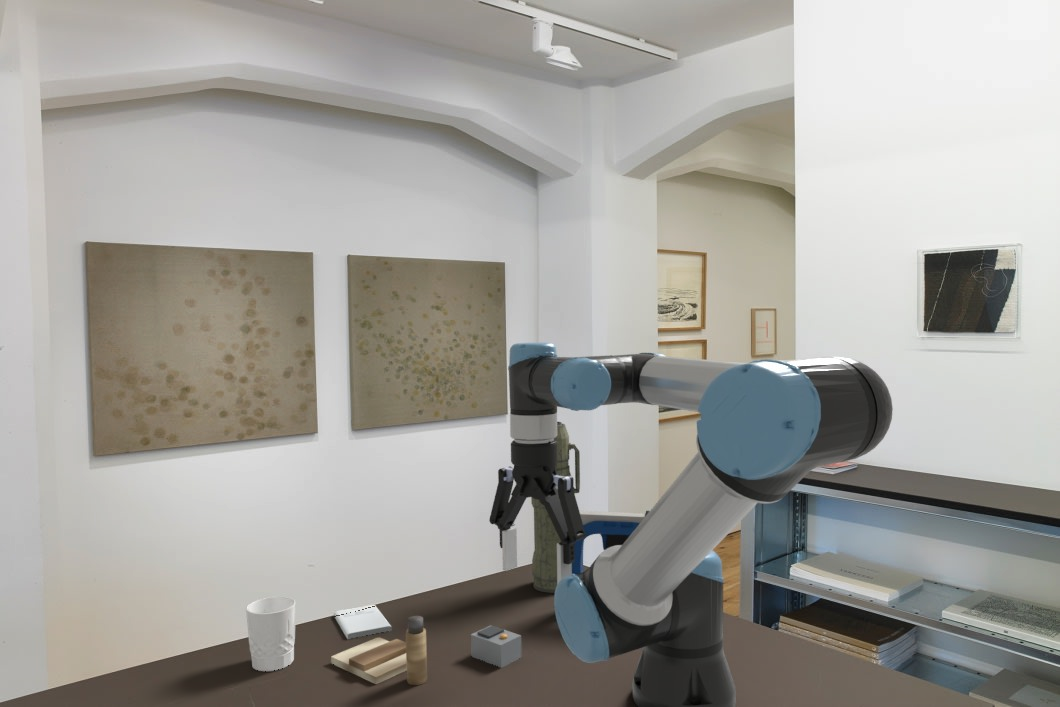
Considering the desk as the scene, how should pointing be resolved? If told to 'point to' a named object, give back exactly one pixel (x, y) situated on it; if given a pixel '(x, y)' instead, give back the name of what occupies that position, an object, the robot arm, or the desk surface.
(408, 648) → the peg
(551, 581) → the thermos
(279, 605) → the white cup
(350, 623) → the external hard drive
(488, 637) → the box
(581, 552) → the handheld scanner
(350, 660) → the panel
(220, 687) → the desk surface
